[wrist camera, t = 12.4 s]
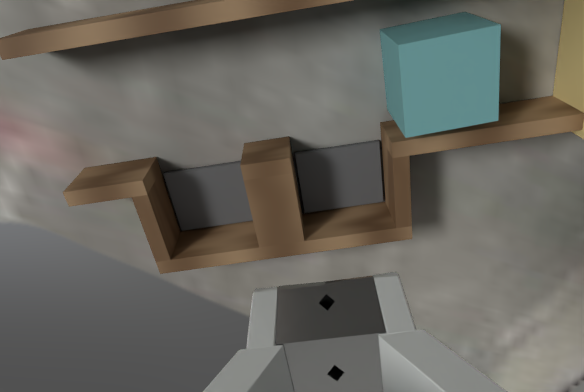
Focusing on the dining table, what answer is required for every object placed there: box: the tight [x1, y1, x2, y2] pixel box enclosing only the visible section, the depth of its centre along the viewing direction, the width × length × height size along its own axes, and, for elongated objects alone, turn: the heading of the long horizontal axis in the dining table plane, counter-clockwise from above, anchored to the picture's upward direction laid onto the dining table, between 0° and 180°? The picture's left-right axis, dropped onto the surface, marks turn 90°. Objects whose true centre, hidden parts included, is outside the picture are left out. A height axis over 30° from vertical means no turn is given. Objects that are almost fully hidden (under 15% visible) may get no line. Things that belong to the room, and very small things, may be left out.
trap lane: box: [0, 0, 584, 274], centre depth 28 cm, size 31×16×4 cm, turn 99°
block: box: [380, 12, 501, 138], centre depth 26 cm, size 5×5×5 cm
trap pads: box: [164, 140, 383, 231], centre depth 32 cm, size 15×5×1 cm, turn 99°
